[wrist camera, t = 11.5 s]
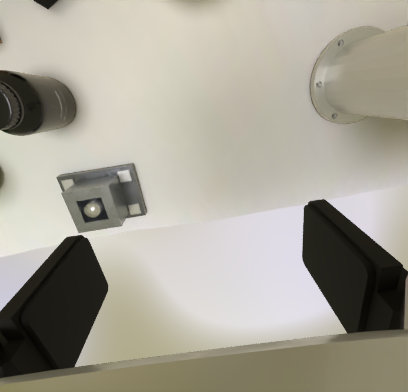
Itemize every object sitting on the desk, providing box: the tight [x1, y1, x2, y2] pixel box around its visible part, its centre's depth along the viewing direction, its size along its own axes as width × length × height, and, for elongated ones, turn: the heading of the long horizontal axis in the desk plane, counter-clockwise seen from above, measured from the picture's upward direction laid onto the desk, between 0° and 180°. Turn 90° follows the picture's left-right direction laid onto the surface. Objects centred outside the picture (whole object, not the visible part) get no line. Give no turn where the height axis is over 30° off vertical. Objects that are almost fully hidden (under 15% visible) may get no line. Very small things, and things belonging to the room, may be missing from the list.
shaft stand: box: [57, 164, 147, 218], centre depth 36 cm, size 12×9×6 cm
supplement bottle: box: [0, 70, 75, 136], centre depth 28 cm, size 7×7×12 cm
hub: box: [61, 175, 129, 233], centre depth 36 cm, size 7×7×5 cm
